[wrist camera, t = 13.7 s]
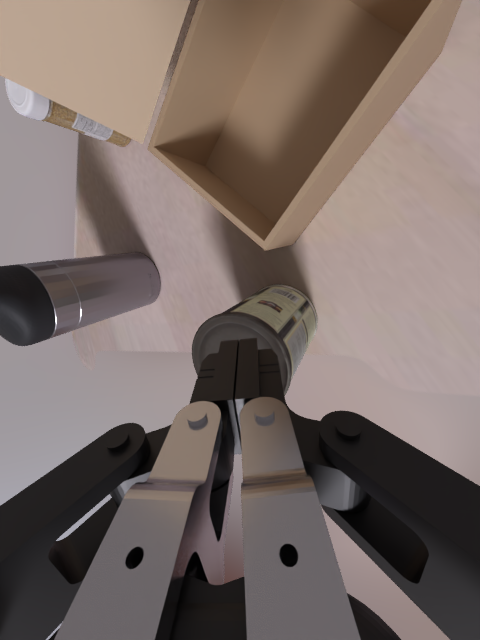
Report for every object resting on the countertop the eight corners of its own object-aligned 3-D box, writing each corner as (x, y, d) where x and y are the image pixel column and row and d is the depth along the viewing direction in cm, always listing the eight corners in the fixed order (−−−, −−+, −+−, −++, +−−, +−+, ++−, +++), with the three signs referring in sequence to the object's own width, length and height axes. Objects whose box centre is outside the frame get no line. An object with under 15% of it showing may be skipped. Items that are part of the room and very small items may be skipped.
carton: (441, 52, 22) (484, -57, 14) (293, 244, 32) (265, 250, 24) (299, -39, 24) (261, -183, 16) (202, 168, 35) (147, 149, 26)
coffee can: (252, 352, 40) (201, 405, 28) (242, 287, 37) (181, 315, 25) (321, 355, 35) (295, 421, 23) (315, 281, 33) (283, 311, 21)
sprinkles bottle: (107, 132, 39) (-1, 93, 28) (120, 102, 37) (6, 46, 25) (126, 155, 39) (24, 125, 28) (139, 126, 37) (34, 81, 25)
